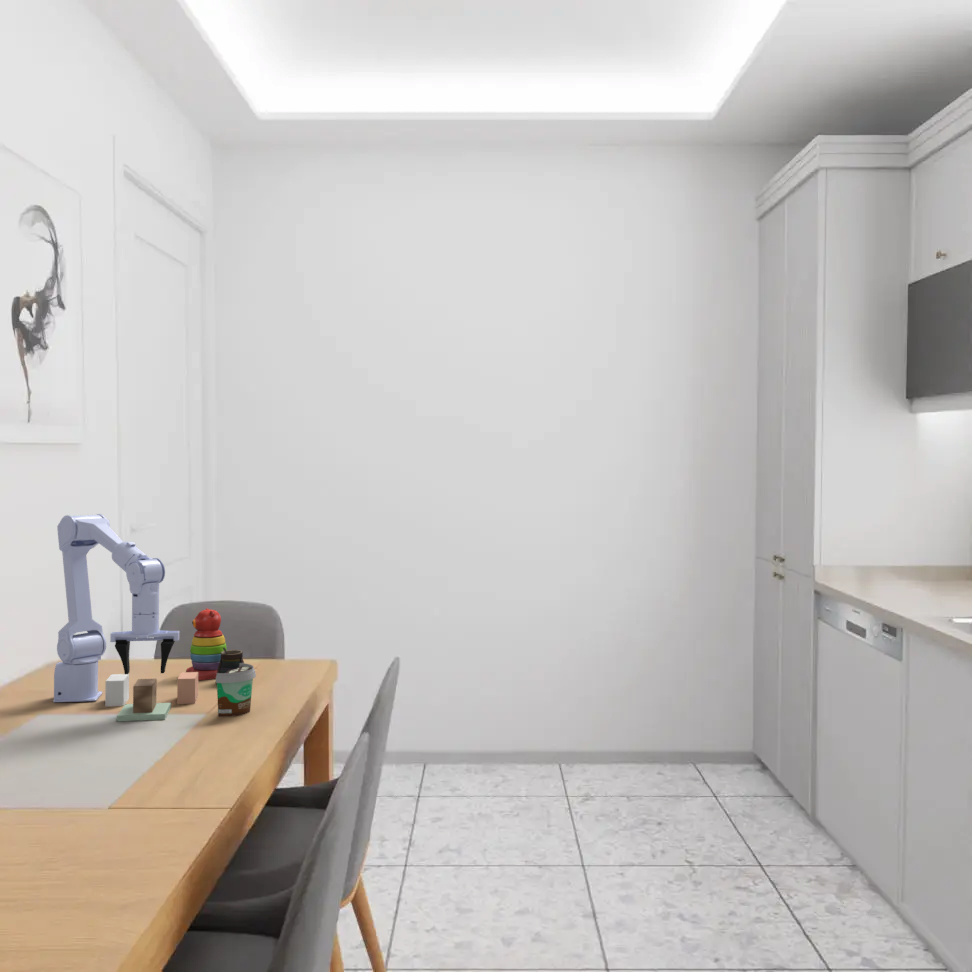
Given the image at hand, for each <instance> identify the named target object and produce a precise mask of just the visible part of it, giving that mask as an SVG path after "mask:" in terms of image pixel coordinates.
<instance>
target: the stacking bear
mask: <svg viewBox="0 0 972 972" xmlns="http://www.w3.org/2000/svg"><path fill="white" fill-rule="evenodd" d="M221 623H222V617H221V614H220V613H219V612H218V611H217V610H215V609H209V608H207V607H206V608H205V609H204V610H203V609H202V610H200V611H199V612H198V614H197V615H196V616H195V617H194V618H193V620H192V626H193V628H194V629H195V630H196V631H195V632H194V634H193V637H192V639H191V644H190V648H189V649H190V651H189V652H190V654H189V655H190V660H191V665H192V666H189V667H187V668H186V670H185V672H198V682H199V681H207V680H213V679H214V680H216V676H217V669H218V666H219V663H220V659H221V652H223V651H224V650H223V648H225V649H226V650H228V649H227V643H226V638H225V636H224V634H223V632H222V630H220V628H221ZM222 647H223V648H222Z"/></svg>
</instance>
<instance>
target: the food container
mask: <svg viewBox="0 0 972 972" xmlns="http://www.w3.org/2000/svg"><path fill="white" fill-rule="evenodd" d="M254 667H255V666H254V665H252V664H250V663H246V662H244V663H240V666H239V667H238V668H236V669H233V670H229V671H227V672H226V673H217V676H216V678H215V683H216V690H217V691H216V692H217V716H218V717H220V718H221V717H223V718H224V717H225V718H228V717H230V718H231V717H237V716H238V717H239V716H243V715H247V714H248V713H250V712H251V706H252V692H253V681H254V679H255V678H256V676H257V673H256V670H255V668H254Z"/></svg>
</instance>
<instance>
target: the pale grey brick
mask: <svg viewBox="0 0 972 972" xmlns="http://www.w3.org/2000/svg"><path fill="white" fill-rule="evenodd" d="M104 691H105V693H104V694H105V695H104V696H105V700H104V701H105V702H104V703H105V704H104V706H105V707H124V705H125V704H127V702H128V701H129V699H130V673H128V674H125V673H118V674H117V673H116V674H115V673H114V674H113V673H112V674H110V675H109V677H108V678H107V679H106V680H105V690H104Z"/></svg>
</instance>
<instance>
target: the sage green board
mask: <svg viewBox="0 0 972 972" xmlns="http://www.w3.org/2000/svg"><path fill="white" fill-rule="evenodd" d="M171 709H172V703H171V702H156V706H155V708H154V710H153V712H151V713H133V703H125V705H124V706H122V708H121V710H120V711H119V712H118V714H117V715H116V721H117V722H130V721H131V722H132V721H158V720H161V721H162V720H166V718H167V716H168V714H169V712H170V710H171Z"/></svg>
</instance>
